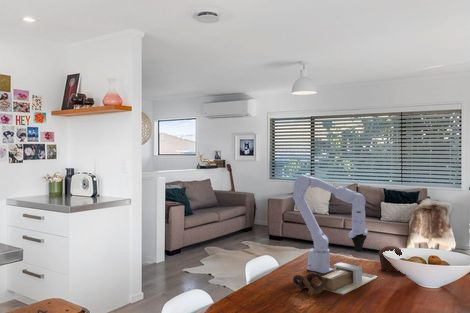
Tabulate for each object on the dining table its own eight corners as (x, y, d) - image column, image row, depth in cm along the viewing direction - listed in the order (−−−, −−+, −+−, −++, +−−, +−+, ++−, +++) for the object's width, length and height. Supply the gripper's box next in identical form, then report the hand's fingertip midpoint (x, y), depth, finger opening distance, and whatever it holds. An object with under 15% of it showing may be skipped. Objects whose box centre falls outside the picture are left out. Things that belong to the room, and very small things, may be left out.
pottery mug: (321, 288, 155) (327, 273, 151) (319, 307, 147) (325, 291, 143) (292, 279, 157) (296, 264, 153) (288, 297, 149) (292, 281, 145)
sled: (321, 288, 151) (321, 276, 151) (346, 277, 165) (346, 266, 165) (332, 291, 148) (332, 279, 148) (357, 279, 161) (357, 268, 161)
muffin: (375, 270, 178) (375, 248, 177) (381, 264, 187) (380, 243, 187) (404, 274, 171) (403, 251, 171) (407, 267, 181) (407, 246, 181)
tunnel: (316, 287, 155) (316, 270, 155) (351, 271, 175) (351, 256, 175) (343, 294, 147) (343, 276, 147) (377, 277, 167) (377, 261, 167)
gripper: (358, 224, 165) (359, 256, 165) (374, 219, 176) (374, 250, 176) (343, 222, 170) (344, 253, 170) (359, 218, 181) (360, 247, 181)
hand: (358, 251), depth 173 cm, fingers closed
